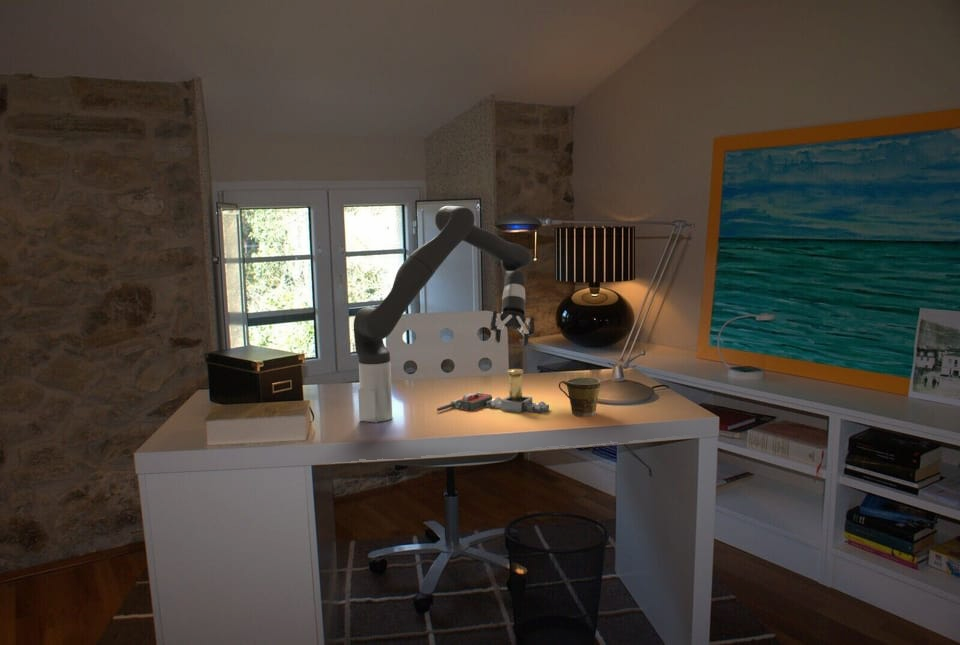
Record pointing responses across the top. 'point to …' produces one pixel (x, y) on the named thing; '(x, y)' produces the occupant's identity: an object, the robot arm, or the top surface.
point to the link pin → (515, 384)
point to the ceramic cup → (582, 395)
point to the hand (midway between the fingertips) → (511, 343)
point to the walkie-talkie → (469, 402)
